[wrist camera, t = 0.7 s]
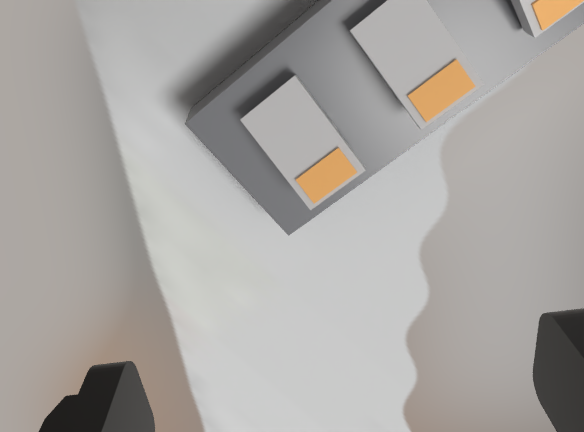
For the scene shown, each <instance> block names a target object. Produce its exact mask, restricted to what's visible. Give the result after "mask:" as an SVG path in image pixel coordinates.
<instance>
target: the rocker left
mask: <svg viewBox="0 0 584 432" xmlns="http://www.w3.org/2000/svg"><path fill="white" fill-rule="evenodd" d="M240 120H241V122H242V123H243V124H244V126H245V127H246V128H247V129H248V131H249V132H250V133H251V135H252V136H253V137H254V138H255V140H256V141H257V142H258V144H259V145H260V146H261V147H262V149H263V150H264V151H265V153H266V154H267V155H268V156H269V158H270V159H271V160H272V162H273V163H274V164H275V165H276V167H277V168H278V169H279V171H280V172H281V173H282V174H283V176H284V177H285V178H286V180H287V181H288V182H289V183H290V185H291V186H292V187H293V189H294V190H295V191H296V192H297V194H298V195H299V196H300V198H301V199H302V200H303V201H304V203H305V204H306V205H307V207H308V208H309V209H310V210H312V209H313V208H315V207H316V206H317V205H319V204H320V203H322V202H323V201H324V200H326V199H327V198H328V197H330V196H331V195H333V194H334V193H335V192H337V191H338V190H339V189H341V188H342V187H344V186H345V185H346V184H348V183H349V182H351V181H352V180H353V179H355V178H356V177H357V176H359V175H360V174H362V173H363V172H364V171H366V168H365V166H364V165H363V163H362V162H361V161H360V159H359V158H358V157H357V155H356V154H355V153H354V151H353V150H352V149H351V147H350V146H349V145H348V143H347V142H346V141H345V139H344V138H343V137H342V135H341V134H340V133H339V131H338V130H337V127H336V126H335V124H334V123H333V121H332V120H331V119H330V118H329V116H328V115H327V114H325V112H324V111H323V110H322V108H321V107H320V106H319V104H318V103H317V102H316V100H315V99H314V98H313V96H312V95H311V94H310V92H309V91H308V90H307V88H306V87H305V86H304V84H303V83H302V82H301V80H300V79H299V78H298V76H297V75H295V76H293V77H292V78H291V79H290V80H289V81H287V82H286V83H285V84H284V85H282V86H281V87H280V88H279V89H277V90H276V91H275V92H274V93H272V94H271V95H270V96H269V97H268V98H266V99H265V100H264V101H263V102H261V103H260V104H259V105H258V106H256V107H255V108H254V109H253V110H252V111H250V112H249V113H248V114H247V115H245V116H244V117H243V118H242V119H240Z"/></svg>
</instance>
